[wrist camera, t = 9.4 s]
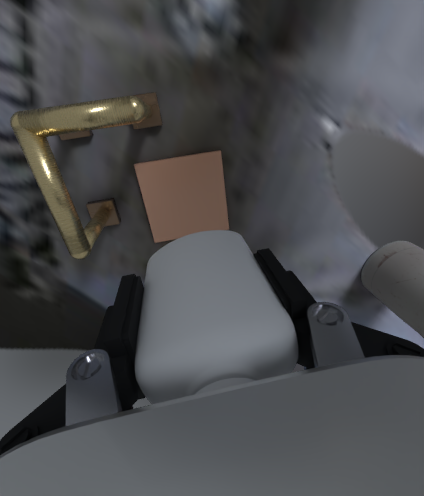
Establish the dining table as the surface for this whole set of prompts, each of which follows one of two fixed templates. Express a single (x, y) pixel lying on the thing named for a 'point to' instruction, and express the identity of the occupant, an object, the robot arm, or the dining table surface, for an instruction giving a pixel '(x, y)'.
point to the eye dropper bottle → (209, 319)
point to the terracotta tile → (184, 194)
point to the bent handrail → (69, 127)
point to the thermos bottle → (398, 281)
